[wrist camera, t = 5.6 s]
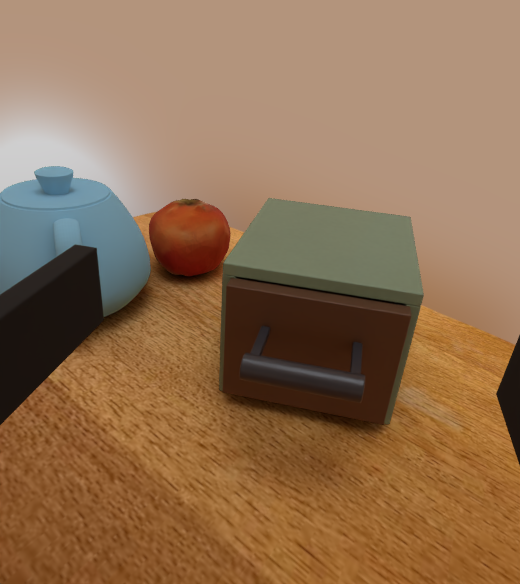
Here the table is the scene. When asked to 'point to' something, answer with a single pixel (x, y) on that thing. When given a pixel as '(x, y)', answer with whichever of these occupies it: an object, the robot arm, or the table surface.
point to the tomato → (189, 237)
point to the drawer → (312, 348)
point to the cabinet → (330, 259)
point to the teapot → (71, 232)
